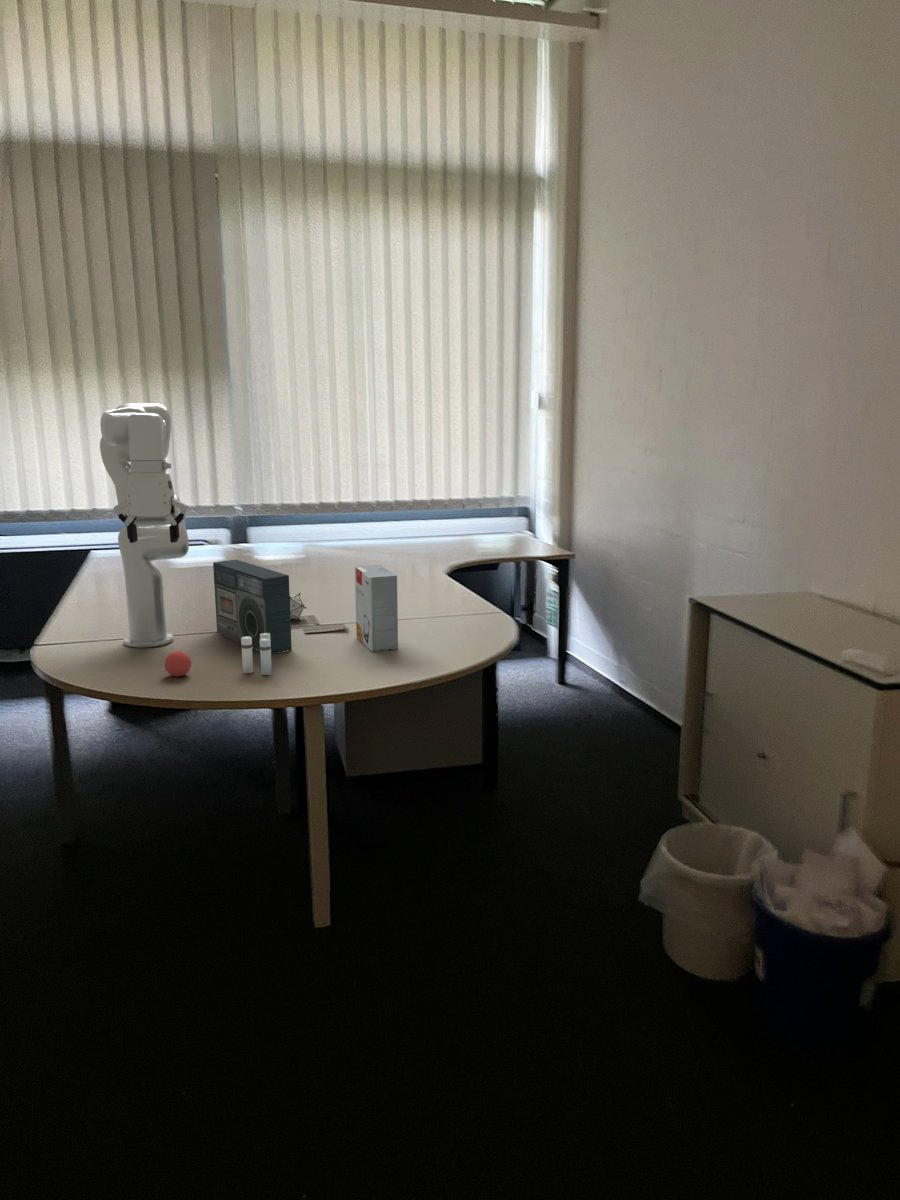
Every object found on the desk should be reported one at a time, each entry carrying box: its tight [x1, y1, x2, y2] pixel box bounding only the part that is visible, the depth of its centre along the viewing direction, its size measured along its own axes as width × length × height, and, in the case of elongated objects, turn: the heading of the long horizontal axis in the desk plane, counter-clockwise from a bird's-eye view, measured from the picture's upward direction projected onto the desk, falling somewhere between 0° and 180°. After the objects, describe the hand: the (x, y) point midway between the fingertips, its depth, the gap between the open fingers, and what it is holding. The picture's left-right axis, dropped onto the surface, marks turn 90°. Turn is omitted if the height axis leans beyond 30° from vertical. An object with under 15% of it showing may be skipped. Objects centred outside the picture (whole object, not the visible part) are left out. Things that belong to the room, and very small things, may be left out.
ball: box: [164, 650, 192, 677], centre depth 210 cm, size 6×6×6 cm
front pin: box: [240, 637, 254, 674], centre depth 212 cm, size 2×2×8 cm
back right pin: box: [259, 638, 273, 676], centre depth 211 cm, size 2×2×8 cm
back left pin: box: [260, 633, 273, 669], centre depth 215 cm, size 2×2×8 cm
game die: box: [290, 592, 307, 622], centre depth 262 cm, size 9×8×10 cm
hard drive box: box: [354, 564, 399, 652], centre depth 236 cm, size 16×8×20 cm, turn 21°
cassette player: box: [212, 559, 293, 655], centre depth 238 cm, size 29×7×20 cm, turn 40°
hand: (153, 542), depth 208 cm, fingers open, 9 cm apart
